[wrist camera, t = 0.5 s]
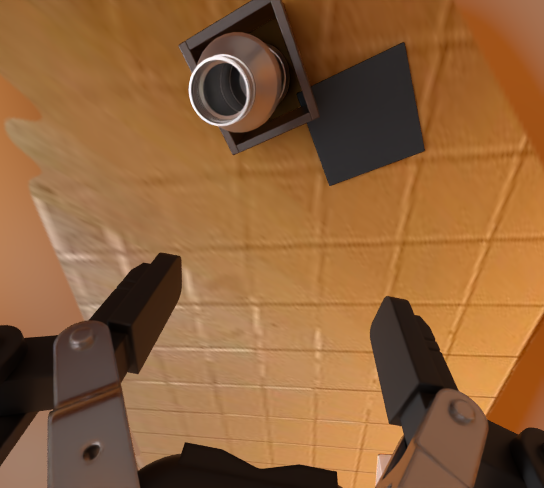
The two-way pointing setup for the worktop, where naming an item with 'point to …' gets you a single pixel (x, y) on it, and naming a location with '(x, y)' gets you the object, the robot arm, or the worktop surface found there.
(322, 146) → the mat
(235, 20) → the holder
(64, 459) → the robot arm
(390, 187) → the worktop surface
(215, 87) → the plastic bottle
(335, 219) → the worktop surface
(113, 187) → the worktop surface
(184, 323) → the worktop surface
